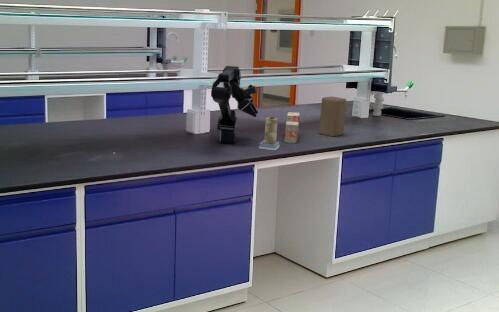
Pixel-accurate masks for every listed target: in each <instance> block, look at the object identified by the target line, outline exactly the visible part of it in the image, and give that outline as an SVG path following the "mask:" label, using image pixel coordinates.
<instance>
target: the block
mask: <svg viewBox="0 0 499 312" xmlns="http://www.w3.org/2000/svg"><path fill="white" fill-rule="evenodd" d="M320 105H321V107H320V116H319V126H318V133H319V134H320V135H324V136H328V137H331V138H332V137H338V136H342V135H344V129H345V127H344V126H345V119H346V109H347V99H346V98H343V97H337V96H326V97H325V96H324V97H322V98H321V104H320Z"/></svg>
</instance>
